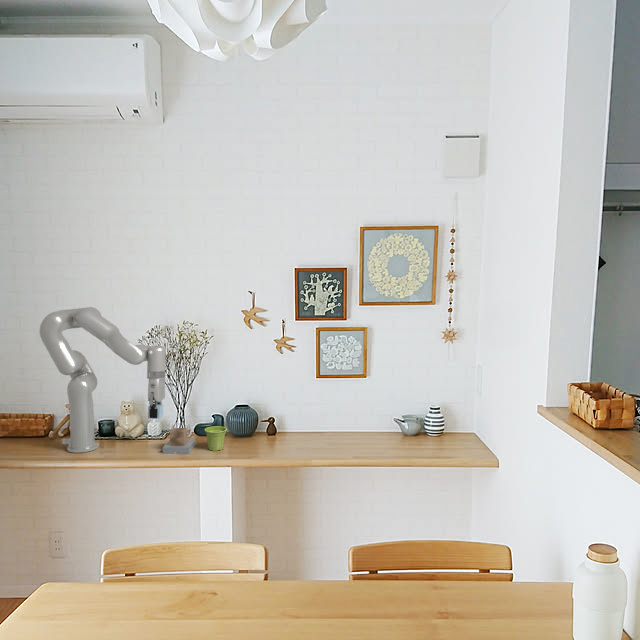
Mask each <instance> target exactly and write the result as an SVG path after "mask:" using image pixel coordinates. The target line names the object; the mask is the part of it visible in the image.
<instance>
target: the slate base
mask: <svg viewBox="0 0 640 640" xmlns="http://www.w3.org/2000/svg"><path fill="white" fill-rule="evenodd" d="M194 446H195V447H196V440H195V439H188V442H187V443H186V444H185V446H170V439H169V440H168V441H167V442H166V443H165V444H164V445H163V447H162V454H190V453H191V452H192V450H193V449H194V448H195V447H194ZM193 447H194V448H193ZM190 451H191V452H190ZM174 452H176V453H174ZM178 452H179V453H178ZM189 452H190V453H189Z"/></svg>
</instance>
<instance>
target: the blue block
mask: <svg viewBox="0 0 640 640" xmlns="http://www.w3.org/2000/svg"><path fill="white" fill-rule="evenodd" d="M157 409H158V413H157V418H150V405H148V407H147V419H152V420H153V419H155V420H156V419H157V420H160V419H162V418H163V417H164V404H162V405H157Z"/></svg>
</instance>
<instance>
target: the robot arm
mask: <svg viewBox="0 0 640 640" xmlns="http://www.w3.org/2000/svg"><path fill="white" fill-rule="evenodd" d="M80 328H82V329H83V330H85V332H87V333H89V334H91V335H92V336H93V337H95V338H96V339H97V340H98V341H101V342H102V343H103V344H105V346H106V347H108V349H110V350H111V351H112V352H113V353H114V354H115V355H116V356H118V357H119V358H120V359H122V360H124V361H126V362H127V363H129V364H130V365H132V366H138V365H140V364H142V363H143V362H147V368H146V369H147V371H146V374H147V375H146V379H147V380H148V386H147V401H148V402H149V403H148V404H149V406H150V418H149V419H152V418H157V413H158V409H157V405H163V404H162V403H163V400H164V399H165V398H166V382H165V379H166V356H167V353H166V351H167V349H166V347H165V346H163V345H147V344H146V345H144V344H133V343H132V342H130V341H129V340H128V339H126V337H124V336H123V334H122V333H121V332H120V329H119V328H118V327H117V325H115V324H113V323H112V322H111V321H109V320H108V319H106V318H105V317H104V316H102V314H101V312H100V310H99V309H98V308H96V307H92V306H89V307H81V308H79V307H78V308H71V309H62V310H56V311H52V312H50V313H48V314H47V315H46V316H45V317H44V319H42V321H41V323H40V326H39V336H40V339H41V341H42V344H43V345H44V347H45V349H46V350H47V352H48V355H49V356H50V358H51V360H52V361H53V363H54V364H55V367H56V369H57V371H58V372H59V373H60V374H62V375H63V376H69V377H70V378H71V379H70V381H69V382H68V384H67V387H66V390H67V392H66V393H67V398H68V399H67V401H68V409H69V432H70V433H69V434H70V437H69V438H62V439H61V444H62V445H67V446H66V451H67V452H69V453H75V454H76V453H77V454H78V453H80V454H81V453H87V452H91V451H95V450H97V449H99V443H98V442H95V439H96V436H95V411H94V400H93V392H94V391H95V390H96V388H97V386H98V378H97V375H96V374H95V372H94V370H93V368H92V367H91V365H90V363H89V362H88V360H87V358H86V357H85V355H84V354H83V353H82V352H81V351H78V350H76V349H75V350H74V349H72V347H71V345H70V344H69V341H68V340H67V339H66V337H65V336H64V335H63V331H66V330H71V329H80Z"/></svg>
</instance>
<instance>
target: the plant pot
mask: <svg viewBox="0 0 640 640" xmlns="http://www.w3.org/2000/svg"><path fill="white" fill-rule="evenodd" d="M227 430H228V428H227V427H225V426H220V425H219V426H218V425H217V426H216V425H215V426H208V427H206V428H204V431H205V434H206V438H207V447H208V450H209V451H211V450H212V451H211V452H217V451H222V450H223V449H224V445H225V444H224V443H225V436H226V433H227Z"/></svg>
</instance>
